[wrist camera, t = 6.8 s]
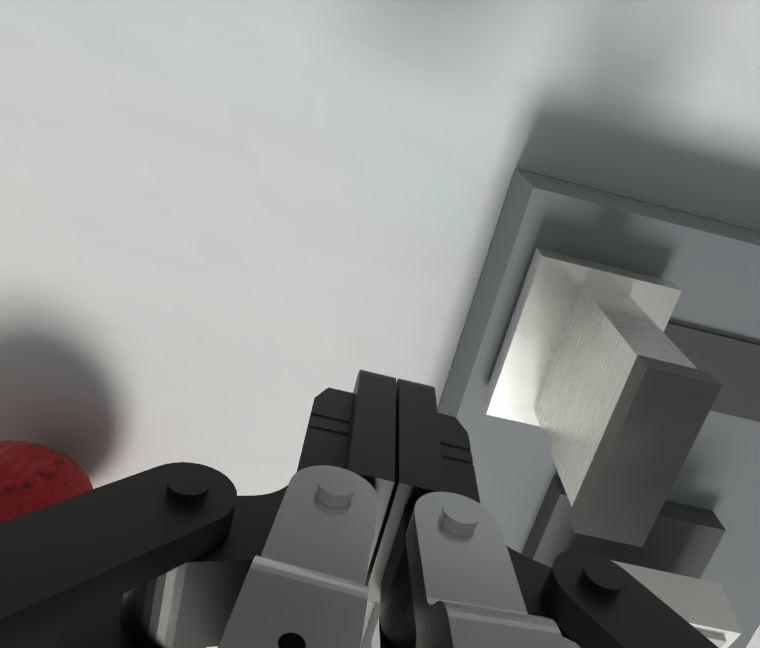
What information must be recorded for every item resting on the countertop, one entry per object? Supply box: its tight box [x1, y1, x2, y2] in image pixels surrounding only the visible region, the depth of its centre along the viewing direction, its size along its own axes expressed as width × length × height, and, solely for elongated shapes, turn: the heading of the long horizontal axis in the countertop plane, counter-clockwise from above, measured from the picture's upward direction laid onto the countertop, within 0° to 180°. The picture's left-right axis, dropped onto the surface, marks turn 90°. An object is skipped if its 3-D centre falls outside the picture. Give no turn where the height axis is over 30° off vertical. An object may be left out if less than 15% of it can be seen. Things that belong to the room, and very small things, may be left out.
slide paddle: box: [483, 248, 722, 547], centre depth 18 cm, size 4×5×6 cm
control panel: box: [361, 169, 760, 648], centre depth 26 cm, size 13×26×4 cm, turn 166°
